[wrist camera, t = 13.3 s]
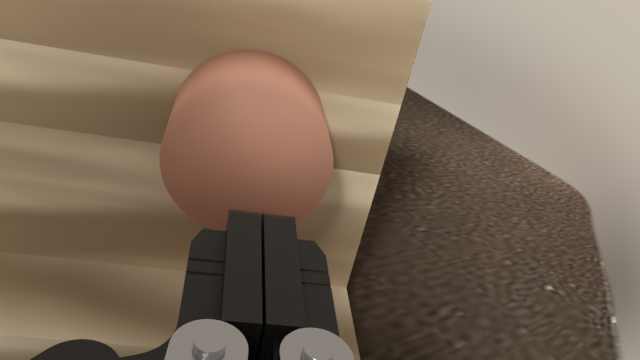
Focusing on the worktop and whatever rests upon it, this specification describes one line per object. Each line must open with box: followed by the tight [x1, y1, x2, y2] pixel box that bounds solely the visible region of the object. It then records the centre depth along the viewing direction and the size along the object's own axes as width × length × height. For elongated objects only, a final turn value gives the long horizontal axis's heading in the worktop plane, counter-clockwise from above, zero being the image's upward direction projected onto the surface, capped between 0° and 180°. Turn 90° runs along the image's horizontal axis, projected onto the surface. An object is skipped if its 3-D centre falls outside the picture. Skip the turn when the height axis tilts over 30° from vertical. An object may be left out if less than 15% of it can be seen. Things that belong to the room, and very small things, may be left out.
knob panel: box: [0, 0, 432, 360], centre depth 19 cm, size 7×24×13 cm, turn 95°
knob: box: [160, 50, 333, 231], centre depth 22 cm, size 13×5×5 cm, turn 5°
